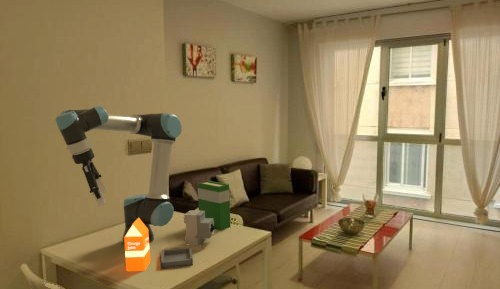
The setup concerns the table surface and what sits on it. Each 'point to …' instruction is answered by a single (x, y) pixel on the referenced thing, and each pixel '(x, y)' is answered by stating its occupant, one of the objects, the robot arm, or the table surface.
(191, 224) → the circuit breaker
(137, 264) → the juice carton
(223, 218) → the green box
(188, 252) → the tray
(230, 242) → the table surface
